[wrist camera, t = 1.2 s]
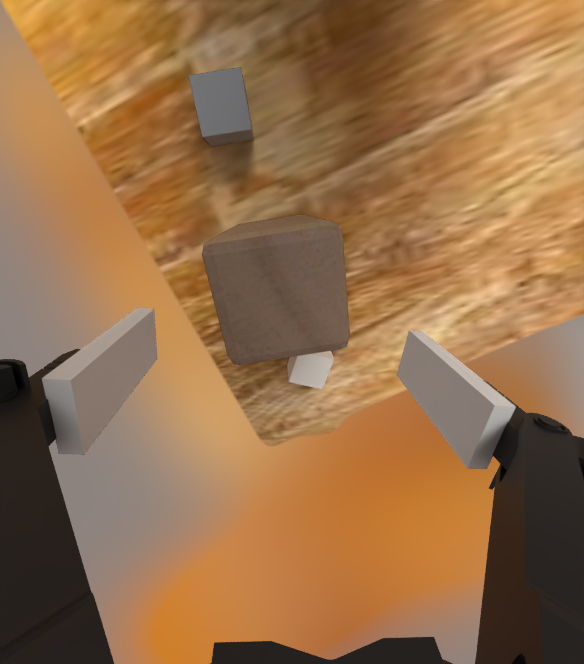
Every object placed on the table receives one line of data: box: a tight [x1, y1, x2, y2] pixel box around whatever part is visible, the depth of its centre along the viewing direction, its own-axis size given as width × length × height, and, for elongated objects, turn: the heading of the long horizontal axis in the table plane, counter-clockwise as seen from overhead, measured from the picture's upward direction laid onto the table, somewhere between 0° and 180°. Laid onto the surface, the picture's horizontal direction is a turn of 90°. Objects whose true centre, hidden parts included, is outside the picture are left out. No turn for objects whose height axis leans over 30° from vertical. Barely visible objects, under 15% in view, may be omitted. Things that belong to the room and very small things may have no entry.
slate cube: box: [188, 67, 254, 146], centre depth 32 cm, size 5×5×5 cm
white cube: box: [287, 351, 334, 389], centre depth 44 cm, size 5×5×5 cm
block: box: [202, 214, 350, 365], centre depth 31 cm, size 10×10×20 cm
